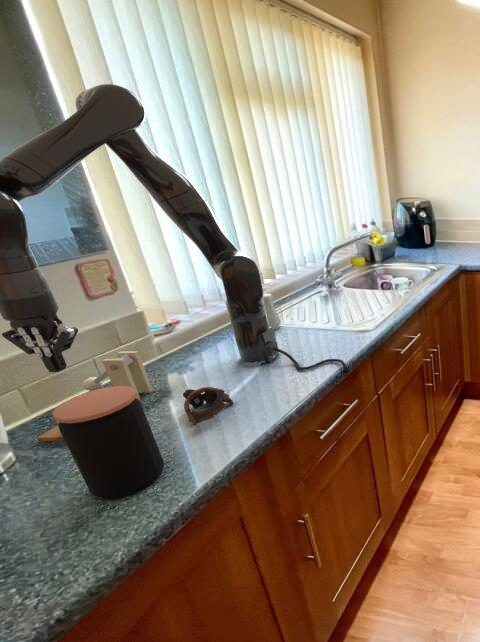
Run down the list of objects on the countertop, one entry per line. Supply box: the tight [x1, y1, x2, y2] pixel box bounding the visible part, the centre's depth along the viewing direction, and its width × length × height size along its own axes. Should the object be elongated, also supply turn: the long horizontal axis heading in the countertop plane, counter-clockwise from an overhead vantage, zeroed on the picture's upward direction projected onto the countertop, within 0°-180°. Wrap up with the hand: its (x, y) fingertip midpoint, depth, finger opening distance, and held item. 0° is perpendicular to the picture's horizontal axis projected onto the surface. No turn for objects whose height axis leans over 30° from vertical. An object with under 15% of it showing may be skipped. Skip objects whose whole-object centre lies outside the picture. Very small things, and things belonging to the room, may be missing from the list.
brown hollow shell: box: [182, 386, 234, 426], centre depth 97 cm, size 12×10×8 cm
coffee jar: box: [51, 386, 165, 500], centre depth 74 cm, size 11×11×18 cm
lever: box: [82, 354, 134, 392], centre depth 100 cm, size 14×3×3 cm
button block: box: [36, 422, 65, 442], centre depth 90 cm, size 11×9×4 cm
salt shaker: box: [263, 293, 282, 331], centre depth 145 cm, size 6×6×13 cm
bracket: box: [101, 350, 154, 401], centre depth 101 cm, size 10×8×13 cm
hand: (58, 370), depth 85 cm, fingers closed
